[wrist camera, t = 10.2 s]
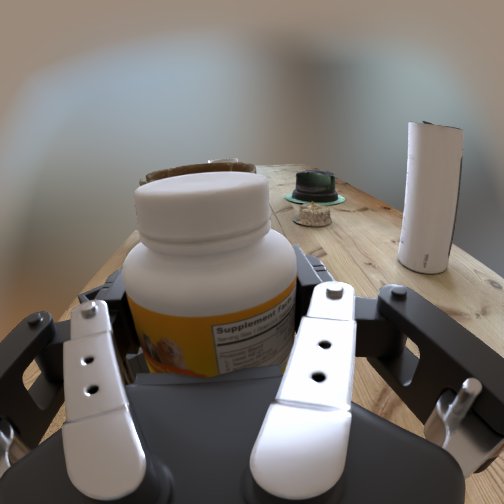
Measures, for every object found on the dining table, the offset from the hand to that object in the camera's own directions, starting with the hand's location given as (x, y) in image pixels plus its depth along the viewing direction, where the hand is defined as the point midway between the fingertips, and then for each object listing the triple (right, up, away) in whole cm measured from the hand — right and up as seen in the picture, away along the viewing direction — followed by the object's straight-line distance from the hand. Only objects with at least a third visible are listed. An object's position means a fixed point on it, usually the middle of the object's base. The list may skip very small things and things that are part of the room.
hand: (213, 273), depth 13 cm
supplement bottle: (+1, -7, 0) cm, 7 cm away
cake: (+17, +9, +64) cm, 67 cm away
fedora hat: (+23, +19, +87) cm, 91 cm away
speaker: (+34, -1, +39) cm, 51 cm away
